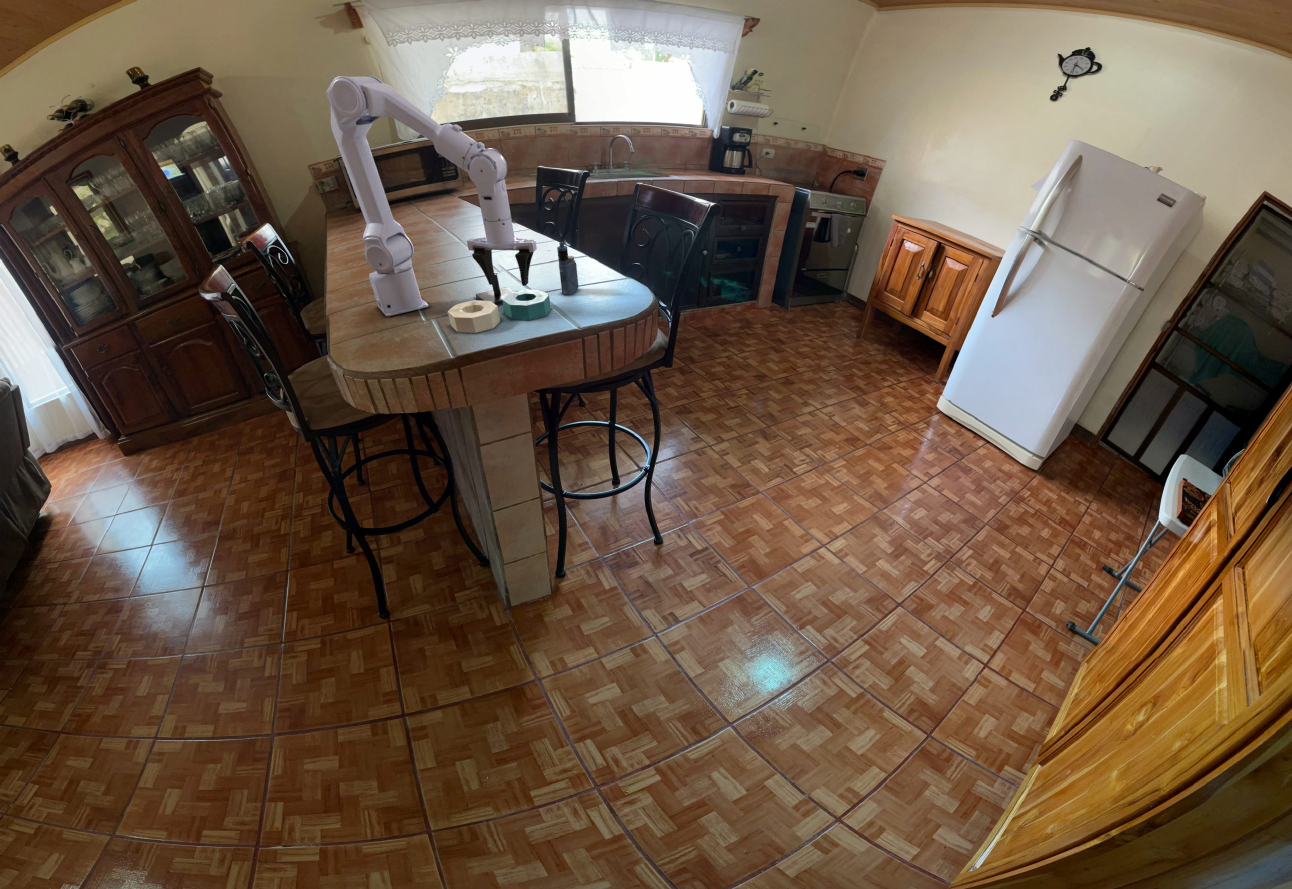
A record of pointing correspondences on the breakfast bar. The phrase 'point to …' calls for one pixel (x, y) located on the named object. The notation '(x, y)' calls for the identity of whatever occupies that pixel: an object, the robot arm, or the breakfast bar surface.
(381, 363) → the breakfast bar surface
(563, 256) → the vaping device
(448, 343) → the breakfast bar surface
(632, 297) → the breakfast bar surface
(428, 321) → the breakfast bar surface
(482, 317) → the cream ring
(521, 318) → the teal ring
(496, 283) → the peg stand
